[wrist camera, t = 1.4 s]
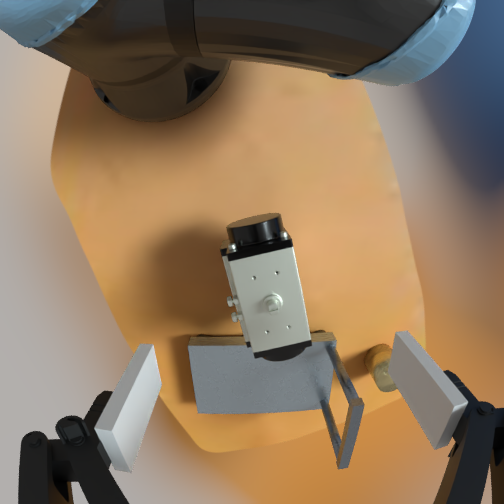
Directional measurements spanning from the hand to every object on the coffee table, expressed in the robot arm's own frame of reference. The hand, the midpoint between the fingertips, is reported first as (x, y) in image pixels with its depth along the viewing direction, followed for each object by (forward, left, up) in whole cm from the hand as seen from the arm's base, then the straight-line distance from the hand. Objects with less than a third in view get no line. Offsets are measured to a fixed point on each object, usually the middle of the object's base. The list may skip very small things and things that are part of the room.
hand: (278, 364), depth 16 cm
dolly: (+13, 0, -19) cm, 23 cm away
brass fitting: (+13, +15, -19) cm, 27 cm away
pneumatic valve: (0, 0, -19) cm, 19 cm away
